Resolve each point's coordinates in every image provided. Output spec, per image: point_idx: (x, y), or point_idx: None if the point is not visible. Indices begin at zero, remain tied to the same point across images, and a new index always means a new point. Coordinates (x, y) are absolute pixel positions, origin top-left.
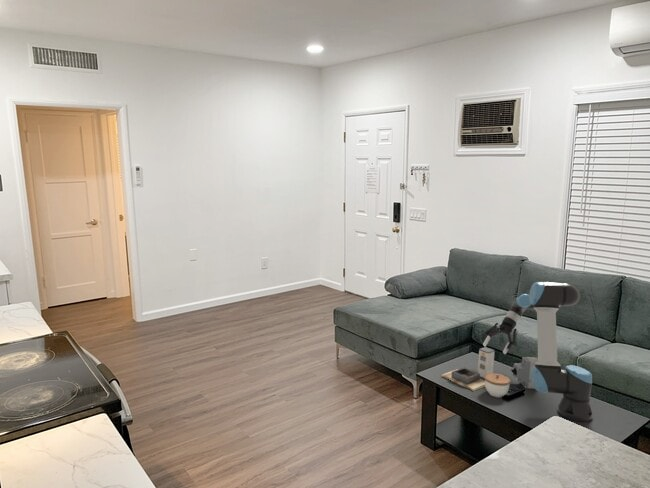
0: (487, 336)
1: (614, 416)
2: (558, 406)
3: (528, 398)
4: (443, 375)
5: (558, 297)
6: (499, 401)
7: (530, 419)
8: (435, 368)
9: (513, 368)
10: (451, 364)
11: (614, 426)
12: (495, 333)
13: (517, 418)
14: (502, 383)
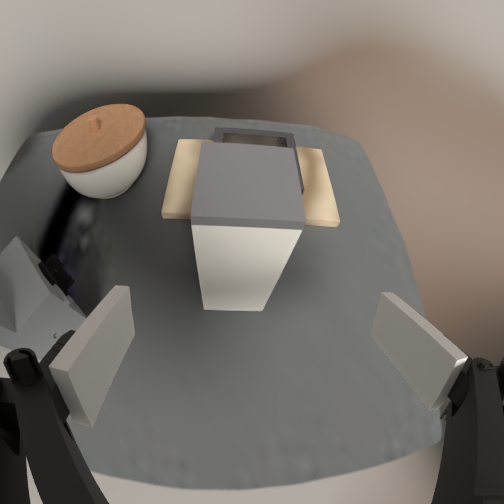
0: (455, 348)
1: None
2: None
3: (24, 239)
4: (313, 149)
5: None
6: None
7: (22, 154)
8: (380, 188)
9: (62, 292)
10: (396, 260)
11: None
12: (450, 471)
13: (45, 136)
14: (73, 120)
